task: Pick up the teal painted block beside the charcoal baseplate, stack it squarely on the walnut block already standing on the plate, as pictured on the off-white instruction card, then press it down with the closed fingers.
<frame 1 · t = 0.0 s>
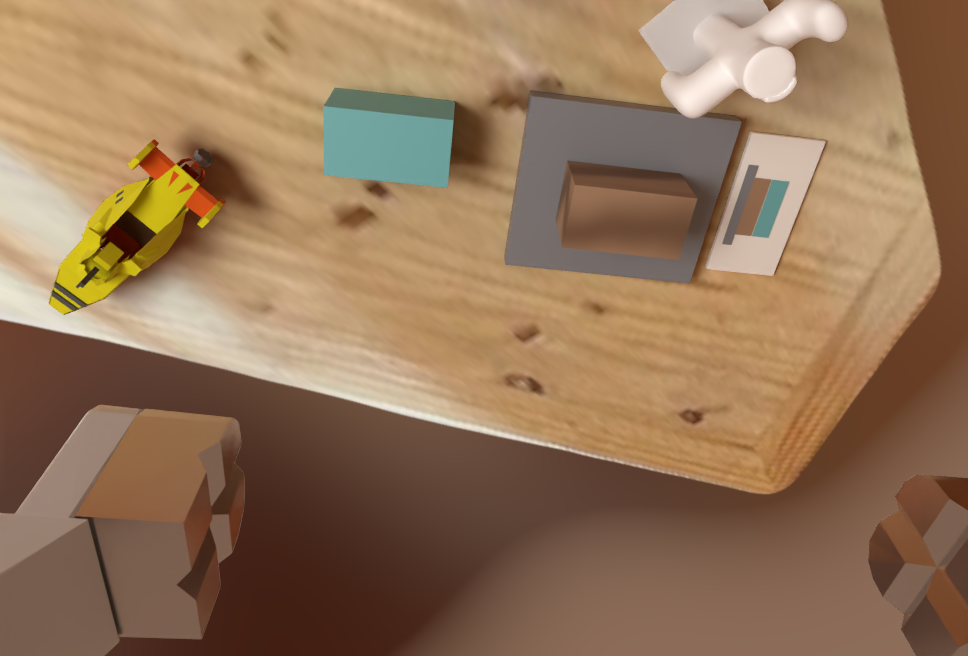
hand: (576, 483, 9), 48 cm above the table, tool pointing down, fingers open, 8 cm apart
instruction card: (761, 206, 59), on the table
toy boat: (145, 217, 59), on the table
teal block: (394, 126, 55), on the table
figurine: (697, 25, 51), on the table
walnut block: (616, 197, 56), point 1 cm above the table, touching baseplate
baseplate: (613, 189, 58), on the table
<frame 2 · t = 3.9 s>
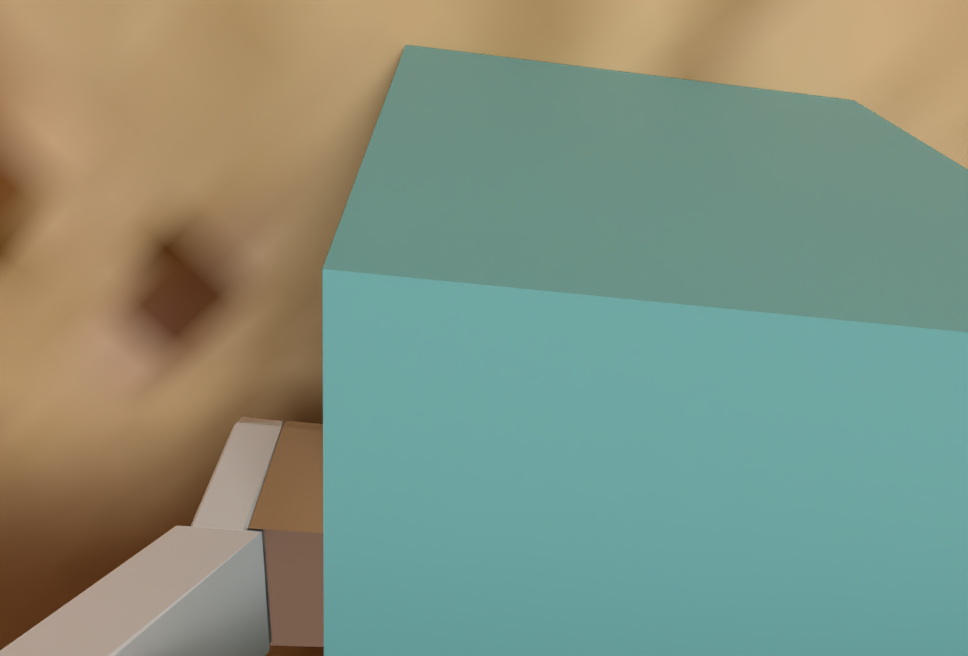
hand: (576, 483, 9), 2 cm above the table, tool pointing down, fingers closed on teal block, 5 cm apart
teal block: (561, 396, 10), on the table, touching gripper
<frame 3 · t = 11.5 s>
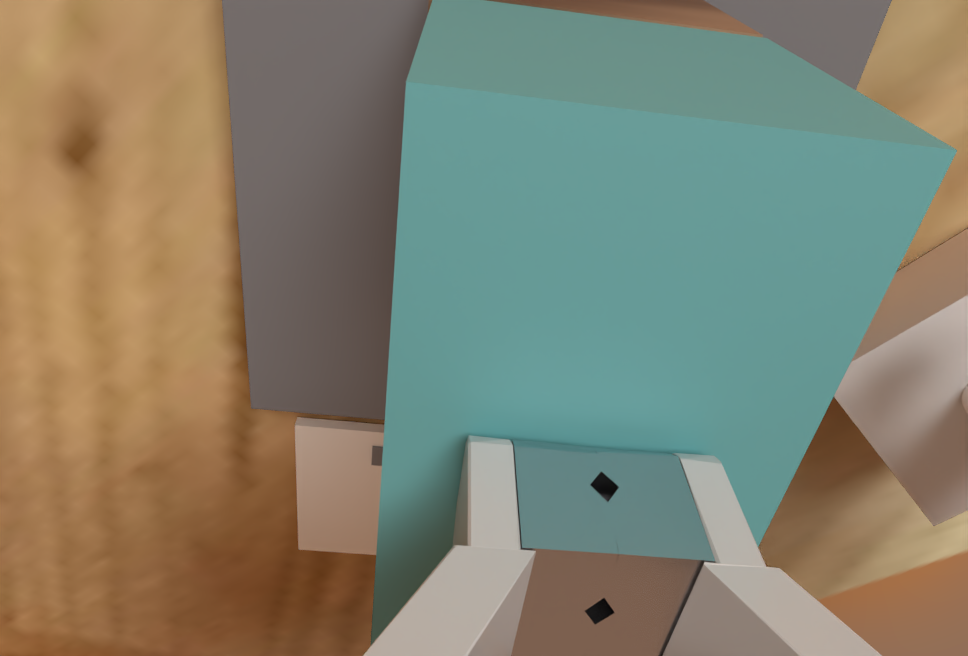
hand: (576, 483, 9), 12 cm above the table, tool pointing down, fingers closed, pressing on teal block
instruction card: (470, 496, 25), on the table
teal block: (550, 281, 13), point 6 cm above the table, touching gripper, walnut block
figurine: (934, 309, 21), on the table
walnut block: (529, 177, 17), point 2 cm above the table, touching baseplate, teal block
baseplate: (525, 156, 18), on the table
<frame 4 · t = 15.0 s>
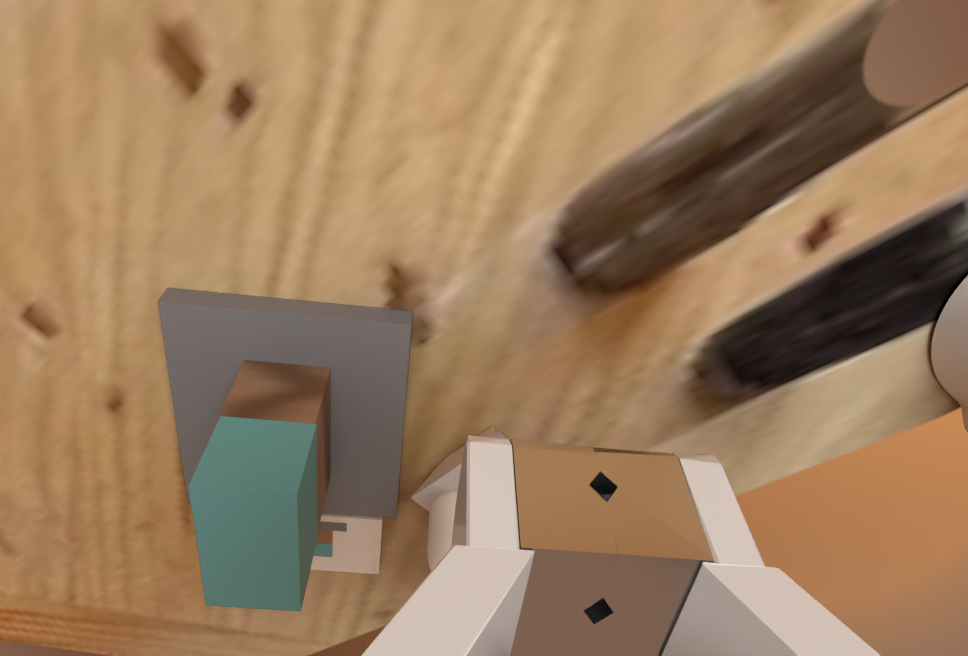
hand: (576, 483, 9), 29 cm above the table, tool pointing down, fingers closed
instruction card: (299, 537, 52), on the table
teal block: (272, 480, 40), point 6 cm above the table, touching walnut block
figurine: (489, 458, 48), on the table
walnut block: (290, 421, 44), point 1 cm above the table, touching baseplate, teal block
baseplate: (295, 406, 45), on the table
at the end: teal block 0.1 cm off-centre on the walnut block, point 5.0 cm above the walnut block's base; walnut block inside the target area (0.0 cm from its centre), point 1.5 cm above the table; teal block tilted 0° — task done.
